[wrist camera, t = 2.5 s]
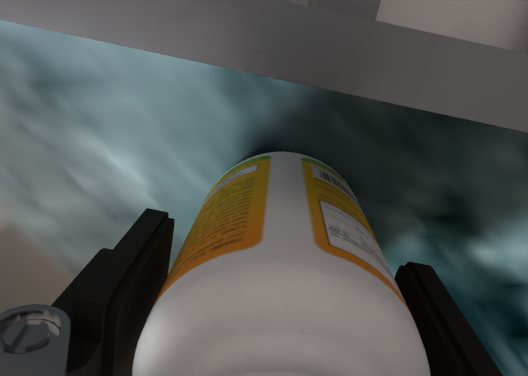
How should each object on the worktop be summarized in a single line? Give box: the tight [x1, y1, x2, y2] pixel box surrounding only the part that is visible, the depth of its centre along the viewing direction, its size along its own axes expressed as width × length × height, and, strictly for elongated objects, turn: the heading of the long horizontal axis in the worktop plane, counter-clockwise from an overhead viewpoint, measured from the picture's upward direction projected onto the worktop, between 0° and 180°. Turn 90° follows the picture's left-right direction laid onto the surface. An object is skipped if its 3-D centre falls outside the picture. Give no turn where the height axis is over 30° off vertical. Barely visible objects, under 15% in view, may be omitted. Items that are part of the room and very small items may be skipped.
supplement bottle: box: [132, 152, 431, 376], centre depth 9 cm, size 5×5×10 cm
